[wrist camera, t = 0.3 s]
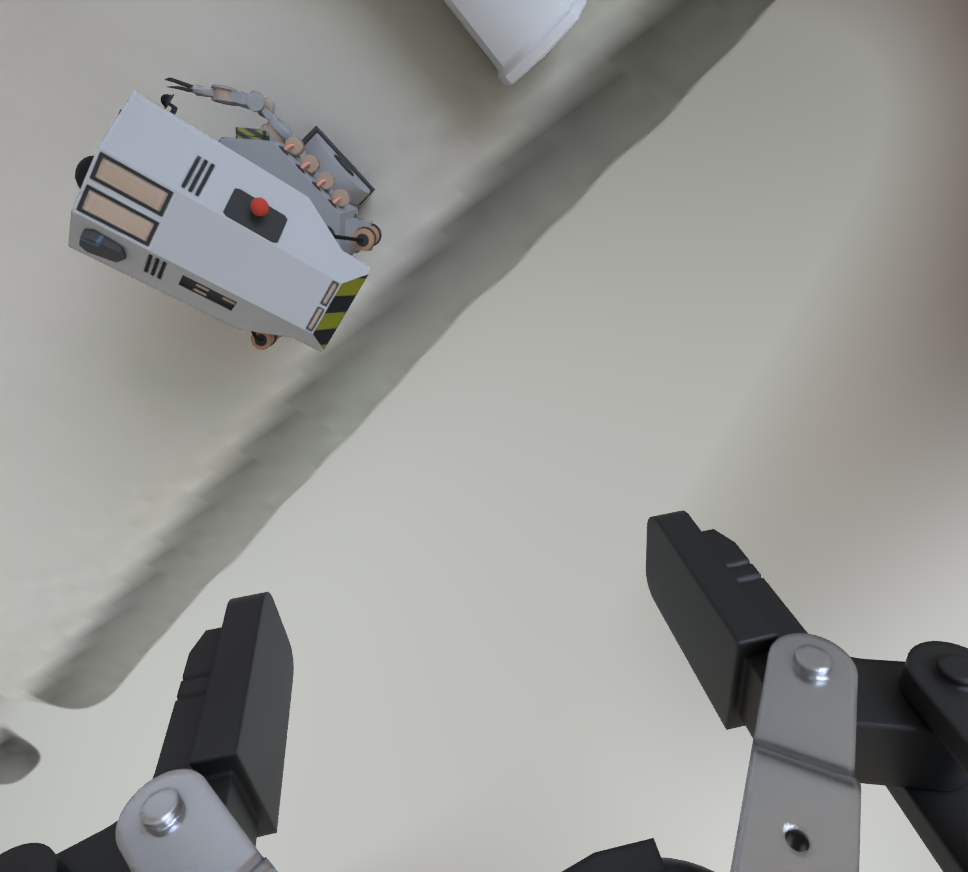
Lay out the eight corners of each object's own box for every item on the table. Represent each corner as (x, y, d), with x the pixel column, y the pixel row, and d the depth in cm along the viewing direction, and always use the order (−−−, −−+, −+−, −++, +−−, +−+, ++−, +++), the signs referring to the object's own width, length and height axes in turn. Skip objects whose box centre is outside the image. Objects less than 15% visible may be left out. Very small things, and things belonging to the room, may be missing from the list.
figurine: (229, 28, 32) (142, -2, 19) (393, 208, 37) (412, 281, 24) (113, 160, 34) (-39, 214, 21) (285, 313, 39) (249, 432, 26)
